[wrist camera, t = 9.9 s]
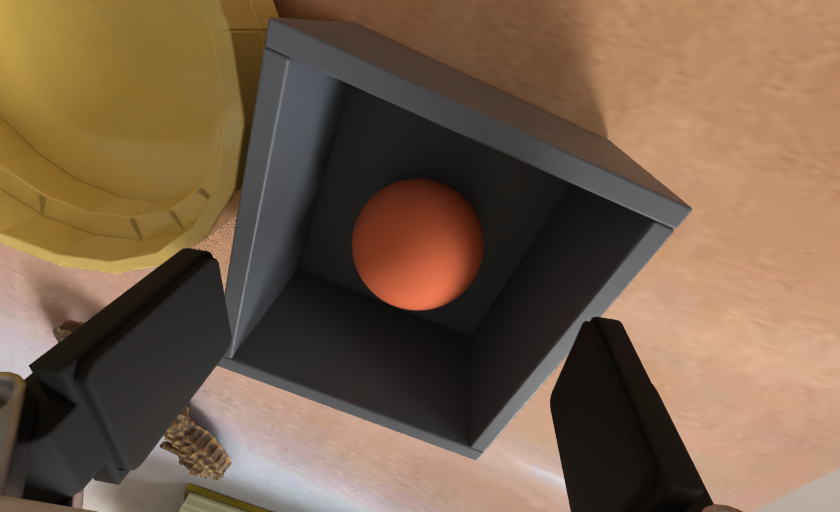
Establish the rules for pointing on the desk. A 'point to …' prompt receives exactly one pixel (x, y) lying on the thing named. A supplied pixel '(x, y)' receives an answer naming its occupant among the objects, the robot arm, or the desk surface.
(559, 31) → the desk surface
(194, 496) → the hardcover book
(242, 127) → the bowl
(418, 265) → the toy ball
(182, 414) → the seahorse
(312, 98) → the bin
